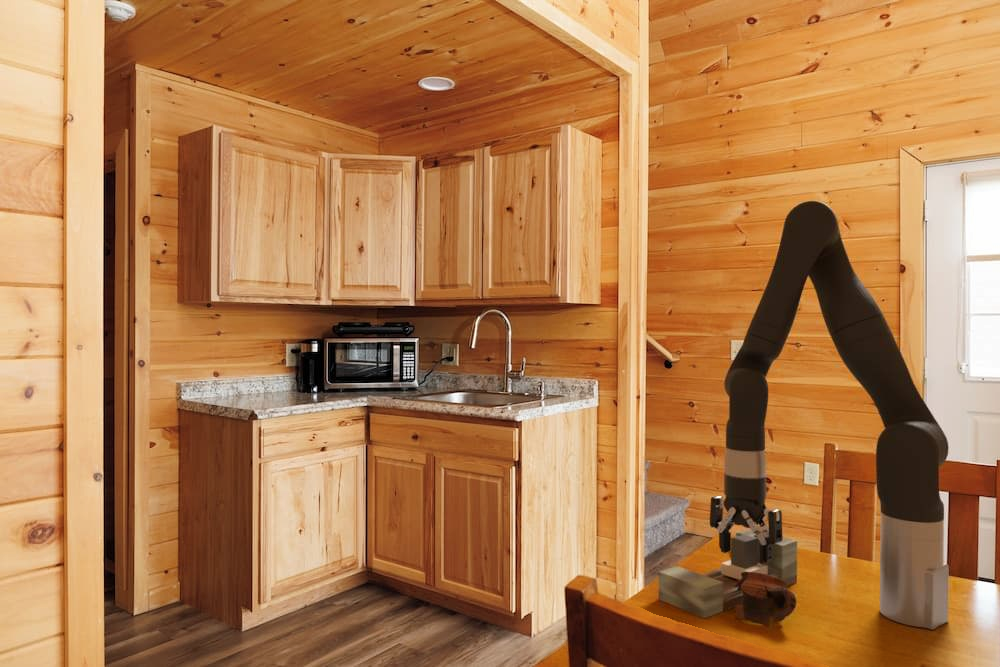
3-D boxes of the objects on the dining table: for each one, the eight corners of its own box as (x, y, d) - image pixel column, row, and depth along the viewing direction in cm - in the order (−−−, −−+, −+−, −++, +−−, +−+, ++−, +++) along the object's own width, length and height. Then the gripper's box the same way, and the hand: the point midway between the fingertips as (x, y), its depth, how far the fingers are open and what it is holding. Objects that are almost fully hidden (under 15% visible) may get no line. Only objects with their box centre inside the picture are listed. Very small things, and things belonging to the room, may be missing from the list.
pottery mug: (718, 616, 118) (725, 567, 121) (756, 631, 121) (762, 584, 124) (775, 623, 108) (781, 570, 111) (816, 640, 111) (820, 588, 114)
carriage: (767, 576, 130) (767, 539, 129) (748, 583, 126) (748, 545, 126) (739, 567, 134) (740, 531, 134) (720, 573, 131) (721, 536, 131)
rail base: (796, 582, 132) (797, 540, 132) (704, 618, 115) (704, 570, 115) (750, 567, 140) (751, 528, 140) (658, 599, 123) (658, 554, 123)
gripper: (791, 476, 127) (790, 564, 127) (725, 463, 138) (724, 544, 138) (767, 481, 122) (767, 572, 122) (701, 468, 134) (701, 551, 134)
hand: (744, 557), depth 130 cm, fingers open, 8 cm apart
